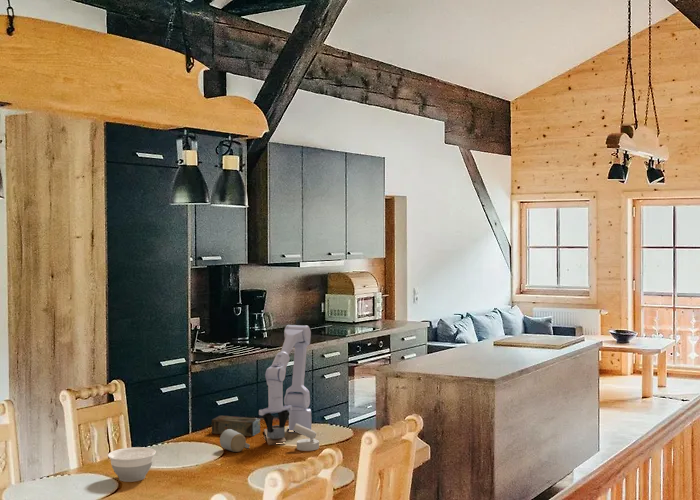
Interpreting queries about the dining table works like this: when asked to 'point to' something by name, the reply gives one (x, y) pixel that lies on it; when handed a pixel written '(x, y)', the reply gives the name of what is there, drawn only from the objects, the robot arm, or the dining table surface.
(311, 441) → the white round-based angled piece
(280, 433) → the open square sleeve
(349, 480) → the dining table surface
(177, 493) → the dining table surface
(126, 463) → the bowl
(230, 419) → the beverage carton
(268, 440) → the board
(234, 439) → the ceramic mug
